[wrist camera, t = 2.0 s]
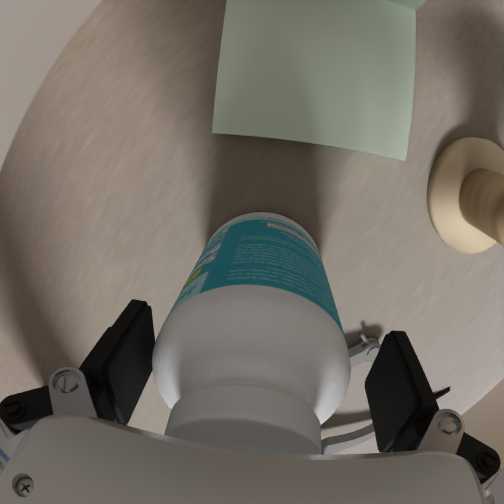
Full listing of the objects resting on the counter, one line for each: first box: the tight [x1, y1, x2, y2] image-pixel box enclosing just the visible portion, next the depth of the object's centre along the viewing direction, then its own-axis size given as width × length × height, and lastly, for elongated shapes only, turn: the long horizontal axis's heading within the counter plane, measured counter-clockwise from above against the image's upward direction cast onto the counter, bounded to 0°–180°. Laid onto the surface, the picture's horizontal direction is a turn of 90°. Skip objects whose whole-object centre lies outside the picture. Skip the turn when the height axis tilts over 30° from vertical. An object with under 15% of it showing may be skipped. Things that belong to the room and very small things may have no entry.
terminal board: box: [212, 0, 426, 161], centre depth 13 cm, size 11×11×3 cm
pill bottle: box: [152, 212, 351, 455], centre depth 13 cm, size 8×7×14 cm
